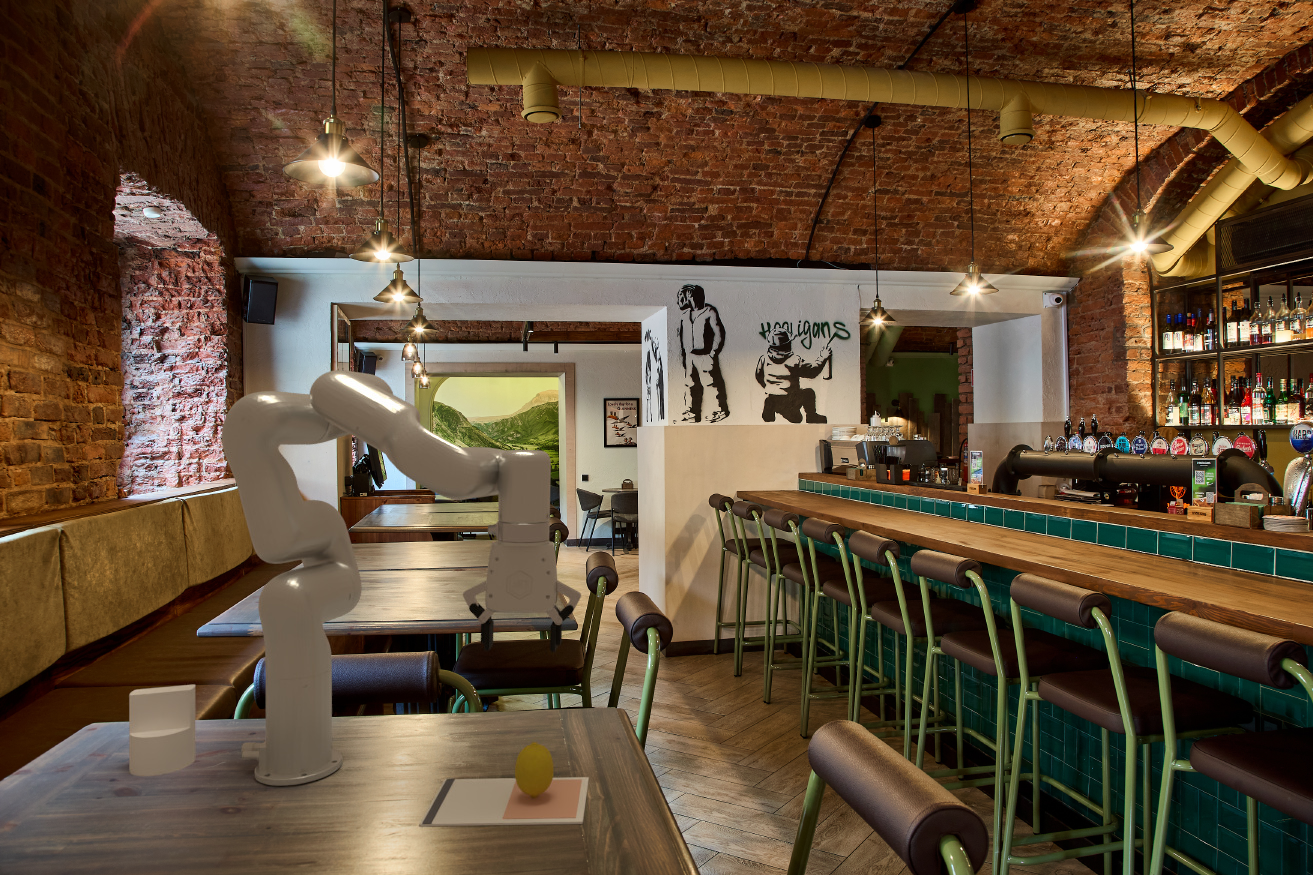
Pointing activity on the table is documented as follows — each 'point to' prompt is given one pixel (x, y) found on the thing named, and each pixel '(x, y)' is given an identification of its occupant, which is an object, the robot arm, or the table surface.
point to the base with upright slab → (161, 729)
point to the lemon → (534, 769)
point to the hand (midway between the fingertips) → (521, 648)
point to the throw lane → (506, 803)
